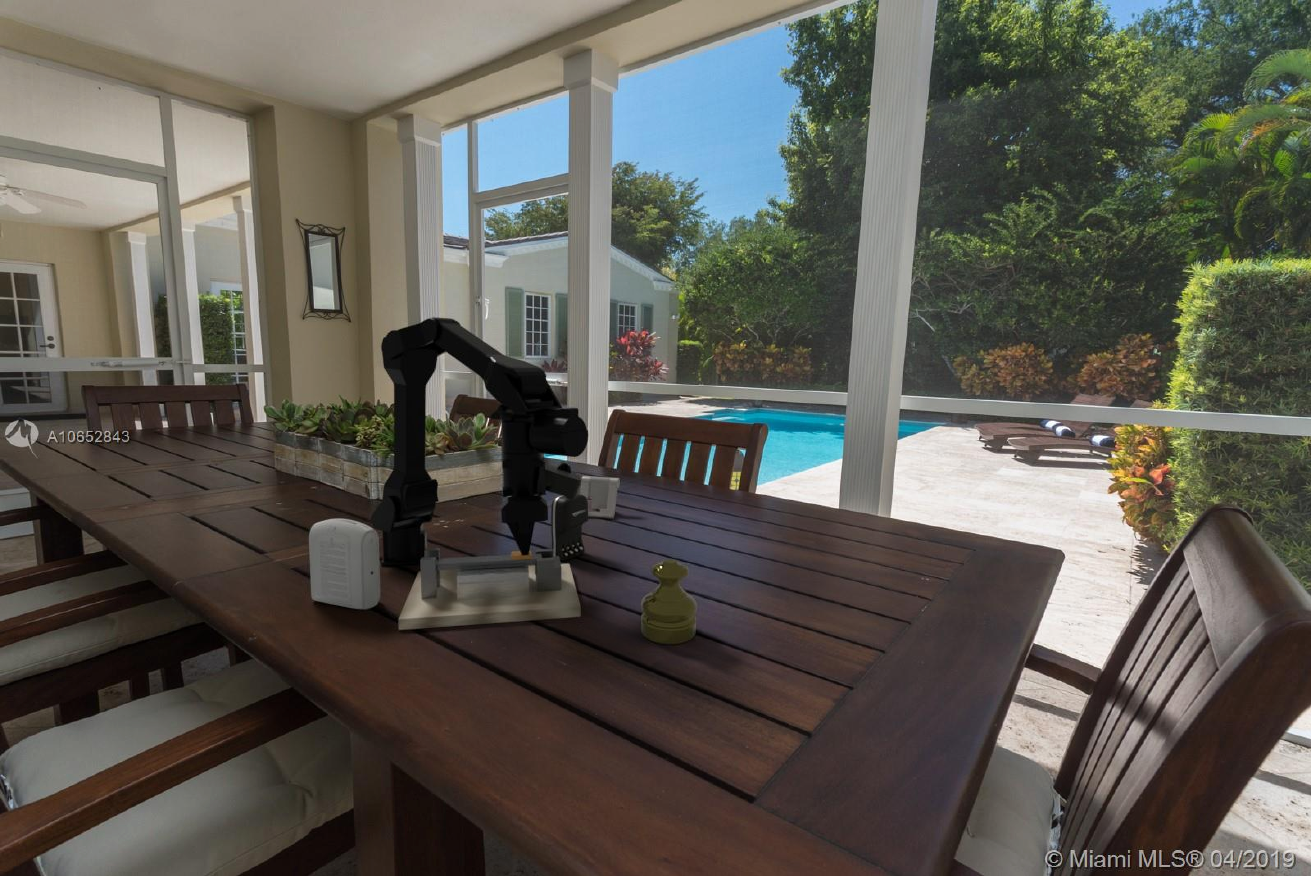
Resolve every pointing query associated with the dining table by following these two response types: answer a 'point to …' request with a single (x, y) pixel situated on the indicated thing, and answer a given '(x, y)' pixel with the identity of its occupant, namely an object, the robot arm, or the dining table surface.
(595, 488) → the portable electronic device stand
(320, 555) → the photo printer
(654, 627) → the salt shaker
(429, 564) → the bracket
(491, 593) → the finned block
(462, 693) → the dining table surface
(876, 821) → the dining table surface
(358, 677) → the dining table surface
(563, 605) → the base board
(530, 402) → the robot arm
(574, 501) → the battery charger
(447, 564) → the strap
